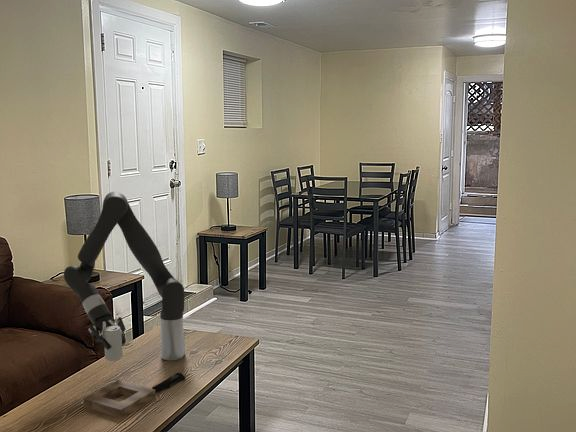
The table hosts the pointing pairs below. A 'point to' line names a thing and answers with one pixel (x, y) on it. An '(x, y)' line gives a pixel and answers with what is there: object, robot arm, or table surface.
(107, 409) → the hole board
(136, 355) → the table surface
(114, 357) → the beverage can
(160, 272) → the robot arm
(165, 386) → the electric trimmer
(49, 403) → the table surface
